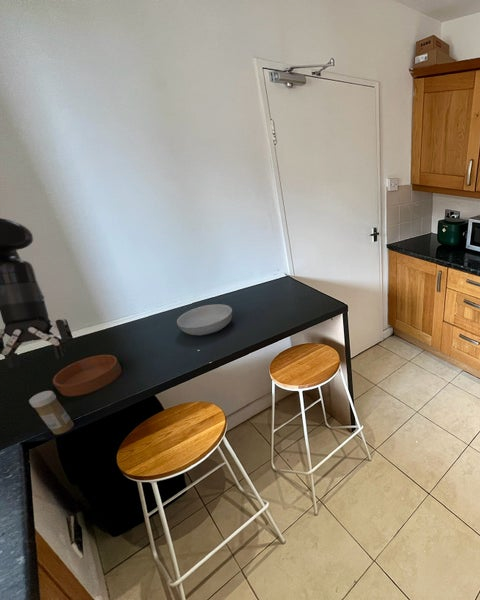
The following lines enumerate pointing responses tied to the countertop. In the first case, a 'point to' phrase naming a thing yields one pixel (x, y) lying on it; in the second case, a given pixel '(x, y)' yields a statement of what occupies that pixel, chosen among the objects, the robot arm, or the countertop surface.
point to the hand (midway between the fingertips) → (39, 363)
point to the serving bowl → (205, 319)
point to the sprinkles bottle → (51, 412)
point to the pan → (87, 375)
